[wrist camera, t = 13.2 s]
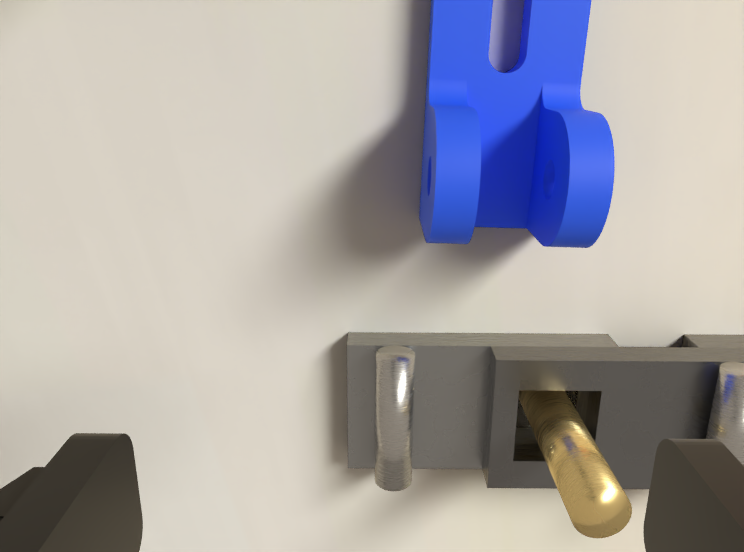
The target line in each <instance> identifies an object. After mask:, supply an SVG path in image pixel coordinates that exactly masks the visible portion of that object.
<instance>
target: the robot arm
mask: <svg viewBox="0 0 744 552" xmlns="http://www.w3.org/2000/svg"><path fill="white" fill-rule="evenodd" d="M142 529H143V520H142V511H141V503H140V496H139V488H138V481H137V473H136V466H135V458H134V451H133V445H132V441H131V439H130V437H129V436H128V435H127V434H96V433H76V434H74V435H72V436H71V437H70V438H69V439H68V440H67V441H66V442H65V444H64V445H63V446H62V447H61V448H60V450H59V451H58V452H57V453H56V454H55V456H54V457H53V458H52V459H51V461H50V462H49V463H48V464H47V465H46V467H33V468H32V469H30V470H29V471H27V472H26V473H24V474H23V475H21V476H20V477H18V478H17V479H15V480H14V481H12V482H11V483H9V484H8V485H6V486H5V487H3V488H1V489H0V552H139V550H140V545H141V539H142ZM644 543H645V549H646V552H744V466H743V465H742V464H741V462H740V461H739V460H738V459H737V458H736V457H735V456H734V455H733V454H732V453H731V452H730V451H729V449H728V448H727V447H726V446H725V445H724V444H723V443H722V442H720V441H719V440H716V439H664V440H662V441H661V442H660V443H659V445H658V447H657V450H656V455H655V461H654V467H653V473H652V479H651V485H650V491H649V496H648V502H647V508H646V514H645V520H644Z"/></svg>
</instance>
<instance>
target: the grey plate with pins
mask: <svg viewBox="0 0 744 552" xmlns="http://www.w3.org/2000/svg"><path fill="white" fill-rule="evenodd" d="M519 390H533V391H578V396H577V404H576V411H577V412H578V414H579V416H580V417H581V419H582V421H583V423H584V424H585V426H586V428H587V429H588V431H589V433H590V434H591V436H592V438H593V440H594V441H595V443H596V445H597V446H598V448H599V450H600V452H601V453H602V455H603V457H604V458H605V460H606V462H607V463H608V465H609V467H610V469H611V470H612V472H613V474H614V475H615V477H616V479H617V481H618V482H619V484H620V486H621V487H622V489H650V485H651V479H652V473H653V467H654V461H655V455H656V450H657V447H658V445H659V443H660V442H661V441H662V440H664V439H716V440H719V441H720V442H722V443H723V444H724V445H725V446H726V447H727V448H728V449H729V451H730V452H731V453H732V454H733V455H734V456H735V457H736V458H737V459H738V460H739V461H740V462H741V464H742V465H743V466H744V335H684V339H683V345H682V347H618V345H617V344H616V343H615V342H614V341H613V340H612V338H611V337H610V336H609V335H608V334H504V333H348V340H347V408H348V468H375V482H376V484H377V485H378V486H379V487H380V488H382V489H384V490H388V491H400V490H403V489H405V488H407V487H408V486H409V485H410V484H411V481H412V468H414V469H482V470H483V473H484V477H485V481H486V485H487V488H557V486H556V484H555V482H554V479H553V477H552V475H551V472H550V470H549V468H548V465H547V463H546V461H545V458H544V456H543V454H542V451H541V449H540V447H539V445H538V442H537V440H536V438H535V435H534V433H533V431H532V428H531V427H516V421H517V410H518V398H519Z"/></svg>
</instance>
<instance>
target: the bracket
mask: <svg viewBox="0 0 744 552" xmlns="http://www.w3.org/2000/svg"><path fill="white" fill-rule="evenodd" d="M492 5H493V0H431V12H430V30H429V48H428V66H427V85H426V103H425V121H424V139H423V158H422V176H421V194H420V212H419V219H420V222H421V226H422V230H423V233H424V237H425V240H426V242H427V243H451V244H468V243H469V242H470V240H471V237H472V234H473V230H474V227H496V228H527V229H528V230H529V231H530V232H531V234H532V235H533V236H534V237H535V238H536V239H537V240H538V241H539V242H540V243H541V244H542V245H543V246H548V247H580V248H587V247H590V246H592V245H593V244H594V243H595V242H596V240H597V239H598V237H599V236H600V234H601V232H602V230H603V227H604V225H605V222H606V219H607V215H608V212H609V208H610V203H611V198H612V191H613V183H614V147H613V140H612V135H611V131H610V128H609V125H608V122H607V121H606V119H605V117H604V116H603V115H602V114H600V113H596V112H592V111H587V110H584V109H583V107H582V105H581V100H580V85H581V77H582V69H583V62H584V54H585V46H586V38H587V30H588V23H589V15H590V7H591V0H525V1H524V11H523V21H522V32H521V42H520V52H519V58H518V61H517V63H516V65H515V66H514V67H513V68H512V69H511V70H509V71H507V72H504V73H501V72H498V71H497V70H495V69H494V68H493V67H492V65H491V63H490V61H489V55H488V54H489V41H490V29H491V17H492Z"/></svg>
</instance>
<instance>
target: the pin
mask: <svg viewBox="0 0 744 552" xmlns="http://www.w3.org/2000/svg"><path fill="white" fill-rule="evenodd" d="M519 400H520V403H521V405H522V408H523V410H524V412H525V415H526V417H527V419H528V421H529V424H530V426H531V428H532V431H533V433H534V435H535V438H536V440H537V442H538V445H539V447H540V449H541V451H542V454H543V456H544V458H545V461H546V463H547V465H548V468H549V470H550V472H551V475H552V477H553V479H554V482H555V484H556V486H557V488H558V491H559V493H560V495H561V498H562V500H563V502H564V505H565V507H566V509H567V512H568V514H569V516H570V519H571V521H572V523H573V525H574V527H575V528H576V529H577V530H578V531H579V532H580V533H581V534H583V535H585V536H588V537H592V538H605V537H609V536H612V535H614V534H616V533H618V532H619V531H621V530H622V529H623V528H624V527H625V526H626V525H627V523H628V522H629V520H630V518H631V514H632V507H631V503H630V501H629V499H628V498H627V496H626V494H625V492H624V491H623V489H622V487H621V486H620V484H619V482H618V481H617V479H616V477H615V475H614V474H613V472H612V470H611V469H610V467H609V465H608V463H607V462H606V460H605V458H604V457H603V455H602V453H601V452H600V450H599V448H598V446H597V445H596V443H595V441H594V440H593V438H592V436H591V434H590V433H589V431H588V429H587V428H586V426H585V424H584V423H583V421H582V419H581V417H580V416H579V414H578V412H577V411H576V409H575V407H574V405H573V404H572V402H571V400H570V399H569V397H568V395H567V394H566V392H565V391H533V390H520V393H519Z"/></svg>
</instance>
